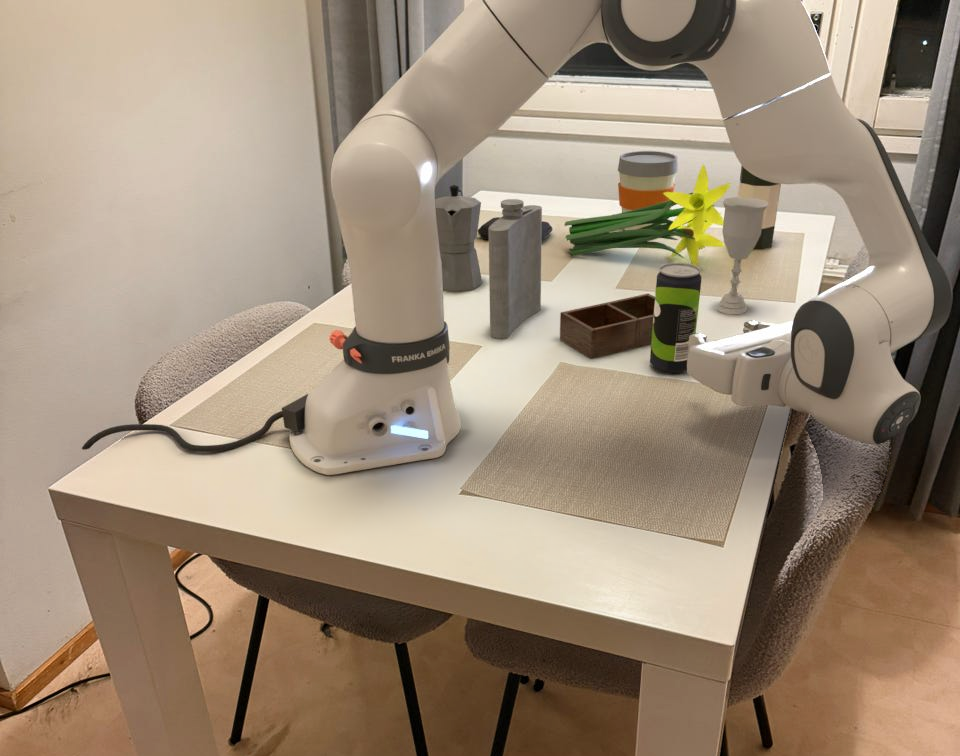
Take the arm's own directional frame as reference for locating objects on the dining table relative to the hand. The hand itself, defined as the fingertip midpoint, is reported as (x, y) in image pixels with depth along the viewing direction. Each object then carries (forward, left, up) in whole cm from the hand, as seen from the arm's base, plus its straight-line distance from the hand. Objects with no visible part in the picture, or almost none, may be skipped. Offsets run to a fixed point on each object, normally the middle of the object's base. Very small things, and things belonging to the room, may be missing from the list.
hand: (720, 332), depth 122 cm
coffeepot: (-10, +61, -9) cm, 62 cm away
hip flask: (-11, +38, -9) cm, 40 cm away
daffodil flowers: (+26, +53, -9) cm, 60 cm away
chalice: (+24, +24, -9) cm, 35 cm away
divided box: (0, +23, -9) cm, 24 cm away
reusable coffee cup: (+41, +72, -9) cm, 83 cm away
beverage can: (0, +10, -9) cm, 13 cm away
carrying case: (+14, +81, -9) cm, 82 cm away
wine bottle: (+53, +51, -9) cm, 74 cm away
